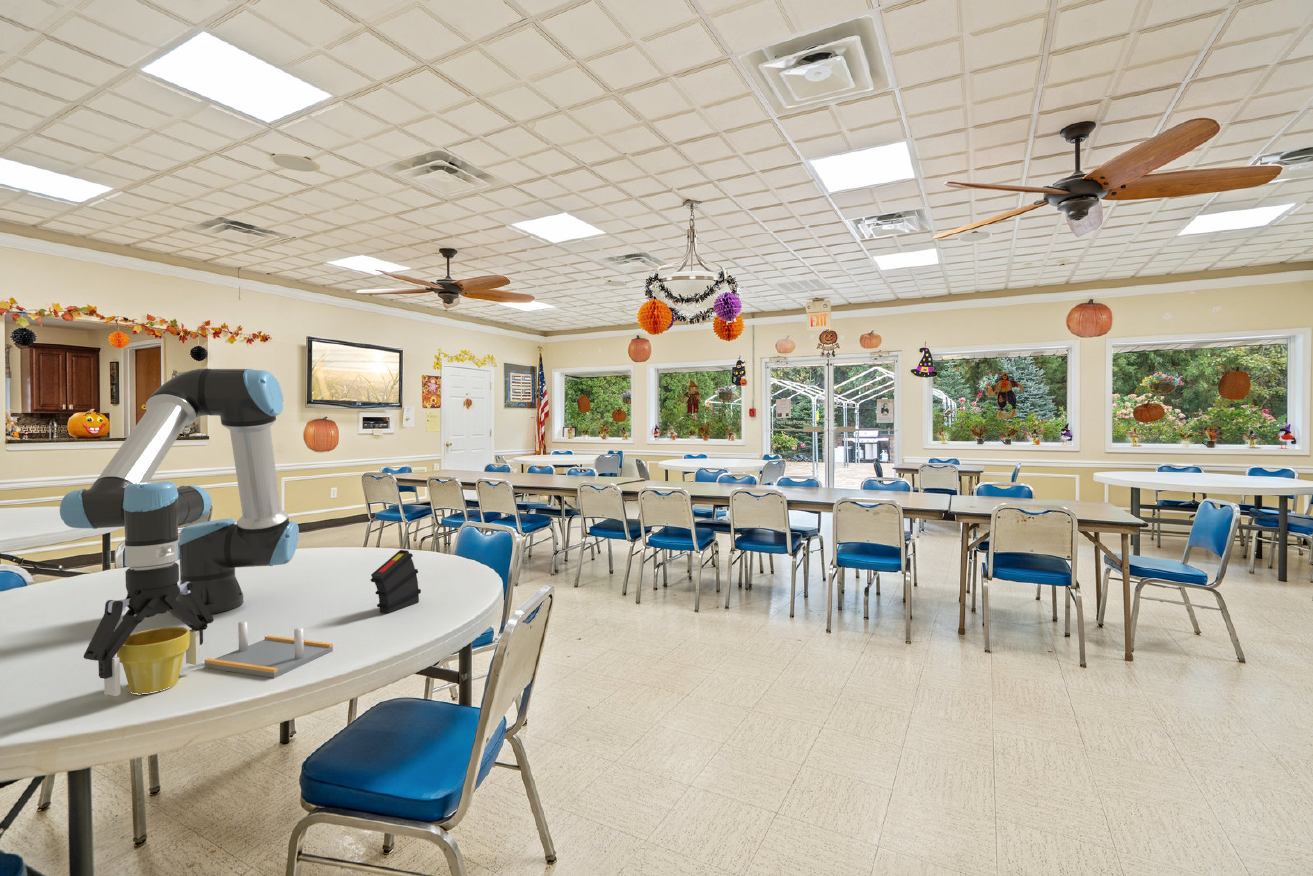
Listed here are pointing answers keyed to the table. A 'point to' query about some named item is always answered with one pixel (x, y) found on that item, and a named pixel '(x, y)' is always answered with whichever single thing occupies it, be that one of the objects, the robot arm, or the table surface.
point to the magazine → (396, 583)
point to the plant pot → (154, 658)
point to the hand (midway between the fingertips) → (155, 678)
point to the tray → (269, 654)
